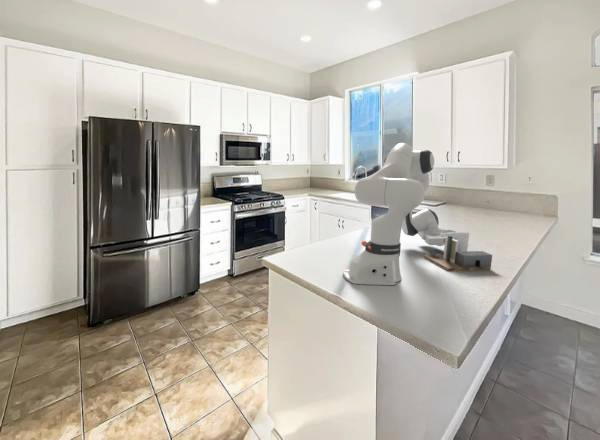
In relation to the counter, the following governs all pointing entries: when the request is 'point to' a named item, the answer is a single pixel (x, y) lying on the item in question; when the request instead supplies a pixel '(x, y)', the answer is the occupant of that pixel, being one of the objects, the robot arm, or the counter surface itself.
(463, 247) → the light grey boxy piece
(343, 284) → the counter surface
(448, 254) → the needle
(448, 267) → the stand
